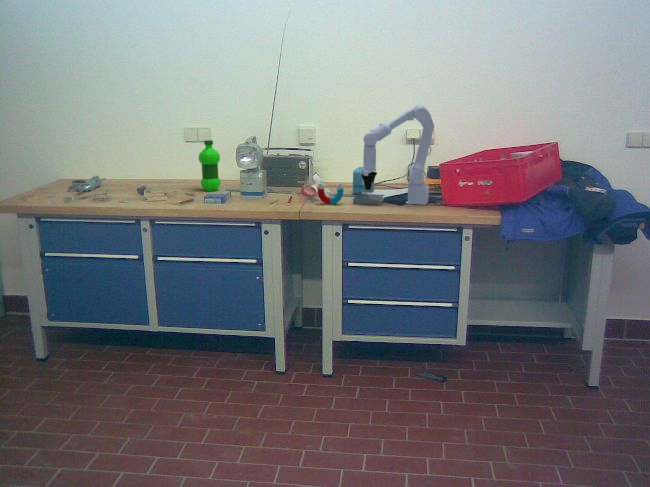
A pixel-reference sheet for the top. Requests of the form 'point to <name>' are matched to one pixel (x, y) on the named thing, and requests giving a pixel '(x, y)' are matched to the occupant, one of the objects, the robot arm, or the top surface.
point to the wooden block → (370, 189)
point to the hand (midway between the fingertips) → (369, 188)
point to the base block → (368, 199)
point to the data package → (358, 181)
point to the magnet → (327, 199)
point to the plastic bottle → (209, 167)
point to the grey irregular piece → (86, 184)
